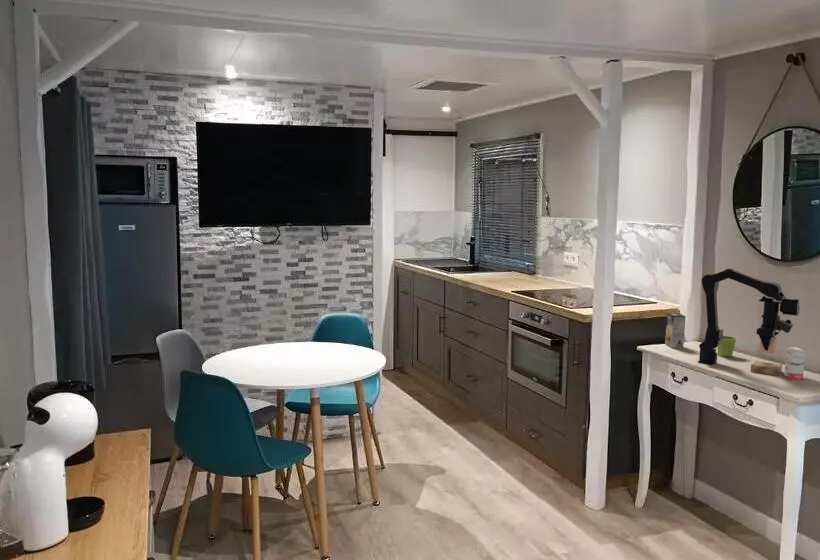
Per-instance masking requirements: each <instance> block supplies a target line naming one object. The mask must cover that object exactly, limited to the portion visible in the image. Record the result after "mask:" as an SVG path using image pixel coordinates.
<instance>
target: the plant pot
mask: <svg viewBox="0 0 820 560" xmlns="http://www.w3.org/2000/svg"><path fill="white" fill-rule="evenodd" d="M723 337H724V339H722V342H721V344H719V345H718V346H717V348H716V349H717V350H716V351H717V353H718V354H717V356H719V357H723V358H726V357H728V358H731V357H733V353H734V348H735V345H736V342H737V340H738V338H737V337H735V336H730V335H723Z"/></svg>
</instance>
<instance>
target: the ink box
mask: <svg viewBox="0 0 820 560" xmlns="http://www.w3.org/2000/svg"><path fill="white" fill-rule="evenodd" d="M806 355H807V352H806V351H805V350H803V349H801V348H799V347H793V346H792V347H790V346H787V348H786V356H785V363H784V372H783V373H784V376H785V377H787V378H788V379H790V380H796V381H797V380H798V381H803V379H804V372H805V371H804V370H805V362H806Z"/></svg>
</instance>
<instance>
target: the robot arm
mask: <svg viewBox="0 0 820 560" xmlns="http://www.w3.org/2000/svg"><path fill="white" fill-rule="evenodd" d="M728 279H730V280H733V281H735V282H737V283H741V284H742V285H746V286H748V287H750V288H753V289H755V290H757V291H758V292H759V293H761V294H763V296H762V297H761V298H760V299H758V301H759V302H761V303H763V309H762V311H763V312H762V315H761V318H762V323H761V324H760V326H759V328H757V329H756V333H755V334H756V335H758V336H759V339H760V342H761V341H762V344H763V347H764V349H765V350H768V348H769V344H770V341H771V338H772V337H775V338H776V336H777V335H779V334H780V332H782V331H783V332H784V333H787V334H789V333H790V332H791V330H792V328H793V327H794V324H793V323H792V320H791V319H786V320H784V319H783V320H782V319H781V317H780V314H779V312H780V313H782V315H786V316H796V317H799V314H800V310H801V306H800V299H798V298H794V299H793V298H787V297H786V296H785V294H784V293H783V292H782V287H781V285H780V284H779V283H777V282H772V281H768V280H762V279H758V278H756V277H753V276H750V275H748V274H745V273H742V272H740V271H738V270H735V269H734V268H725V270H722V271H720V272H717V273H709V274H705V275H703V276H702V278H701V285H702V289H703V291H704V293H705V301H706V304H705V305H706V321H707V324H706V325H707V327H706V331H705V337H704V340H703V341H702V342H700V344H699V345H698V347H699V355H698V356H699V357H698V358H699V359H698V360H697V363H701V364H708V365H714V364H717V362H718V352H717V351H718V350H717V346H718V345H719V344H721V342H722V339H724V337H723V336H724V329H720V326H719V315H718V301H717V299H718V298H717V297H718V296H717V295H718V294H717V293H718V291H719V284H720V282H721V281H722V282H723V281H726V280H728Z"/></svg>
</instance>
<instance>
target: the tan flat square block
mask: <svg viewBox="0 0 820 560" xmlns="http://www.w3.org/2000/svg"><path fill="white" fill-rule="evenodd" d="M782 370H783V364H779V363H773V362H768V361H767V362H766V361H761V360H756V361H755V362H753V363H751V365H750V372H751V373H757V374H764V375H769V376H777V377H778V376H779V374H780V373H782V372H783V371H782ZM781 371H782V372H781Z"/></svg>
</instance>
